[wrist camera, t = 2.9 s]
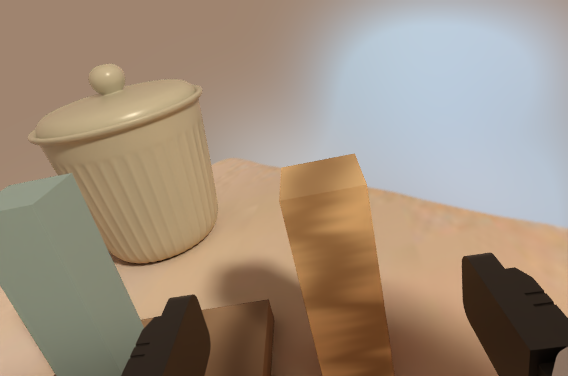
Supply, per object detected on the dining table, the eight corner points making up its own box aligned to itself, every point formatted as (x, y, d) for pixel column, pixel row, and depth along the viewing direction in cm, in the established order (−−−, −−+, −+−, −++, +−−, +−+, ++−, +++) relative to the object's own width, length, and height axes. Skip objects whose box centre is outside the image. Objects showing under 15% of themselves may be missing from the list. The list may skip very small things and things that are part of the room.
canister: (270, 219, 50) (222, 36, 41) (132, 309, 39) (30, 90, 31) (191, 193, 62) (142, 50, 54) (72, 255, 52) (-12, 91, 43)
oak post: (381, 328, 31) (354, 153, 25) (395, 379, 26) (366, 184, 21) (321, 337, 31) (281, 167, 25) (325, 388, 27) (279, 200, 21)
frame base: (274, 318, 34) (220, 134, 27) (256, 618, 18) (114, 340, 11) (92, 346, 36) (2, 179, 29) (-77, 643, 19) (-372, 415, 13)
